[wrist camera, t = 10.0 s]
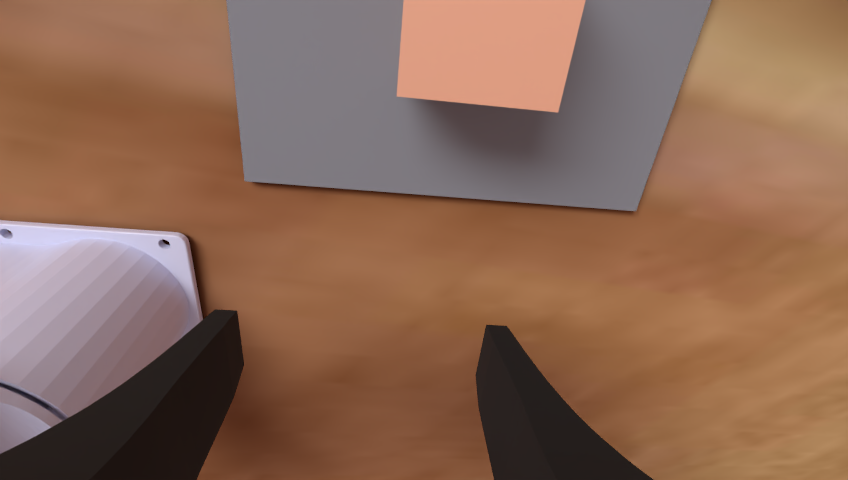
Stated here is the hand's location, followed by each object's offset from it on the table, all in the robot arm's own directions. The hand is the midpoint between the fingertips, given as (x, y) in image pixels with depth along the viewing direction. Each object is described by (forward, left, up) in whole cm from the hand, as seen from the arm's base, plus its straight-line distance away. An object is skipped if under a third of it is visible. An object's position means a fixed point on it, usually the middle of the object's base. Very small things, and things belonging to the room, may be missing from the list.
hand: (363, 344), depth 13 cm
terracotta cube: (+3, +9, -9) cm, 13 cm away
